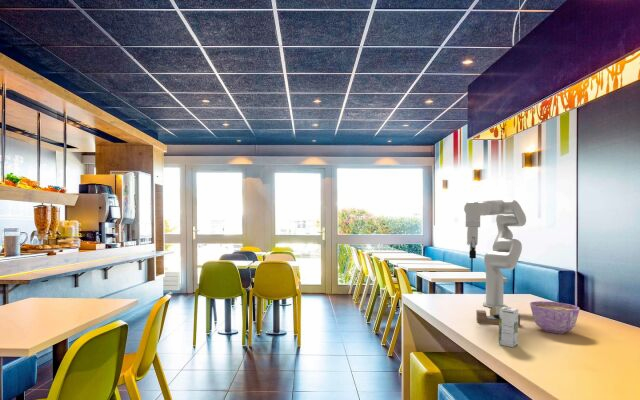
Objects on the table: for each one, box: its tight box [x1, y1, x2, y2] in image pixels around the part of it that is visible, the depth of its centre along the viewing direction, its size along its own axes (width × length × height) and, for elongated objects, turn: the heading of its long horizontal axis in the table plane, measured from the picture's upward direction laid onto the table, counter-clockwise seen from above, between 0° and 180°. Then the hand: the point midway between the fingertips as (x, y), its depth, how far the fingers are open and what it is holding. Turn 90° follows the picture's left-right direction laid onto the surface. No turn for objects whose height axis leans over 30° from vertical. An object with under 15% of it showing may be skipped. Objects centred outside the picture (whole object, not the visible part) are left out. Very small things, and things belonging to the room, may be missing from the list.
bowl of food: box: [529, 300, 580, 334], centre depth 198 cm, size 20×20×12 cm
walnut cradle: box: [475, 309, 521, 327], centre depth 211 cm, size 6×19×5 cm, turn 75°
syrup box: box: [498, 306, 519, 348], centre depth 174 cm, size 6×6×14 cm
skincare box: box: [489, 305, 509, 317], centre depth 215 cm, size 6×4×12 cm
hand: (472, 258), depth 236 cm, fingers closed
